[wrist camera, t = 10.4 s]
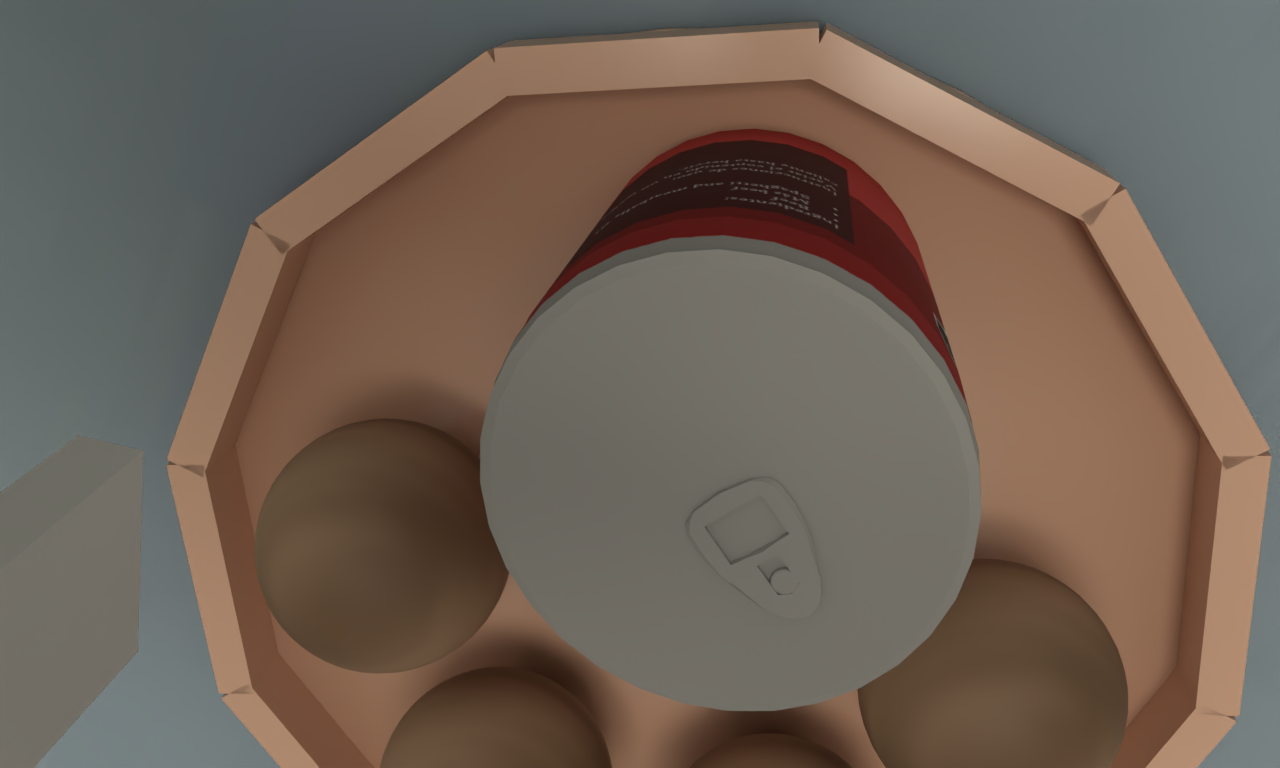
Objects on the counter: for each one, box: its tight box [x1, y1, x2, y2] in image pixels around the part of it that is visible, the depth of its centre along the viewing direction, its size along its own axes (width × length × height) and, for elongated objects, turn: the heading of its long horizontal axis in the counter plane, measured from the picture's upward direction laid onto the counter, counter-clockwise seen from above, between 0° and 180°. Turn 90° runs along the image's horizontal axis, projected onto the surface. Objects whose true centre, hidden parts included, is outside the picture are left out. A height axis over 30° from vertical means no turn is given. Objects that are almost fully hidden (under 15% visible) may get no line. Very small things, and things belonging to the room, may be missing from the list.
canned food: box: [480, 129, 981, 711], centre depth 23 cm, size 8×8×11 cm
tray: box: [166, 21, 1271, 768], centre depth 31 cm, size 26×26×2 cm
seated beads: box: [254, 418, 1128, 768], centre depth 29 cm, size 18×18×6 cm
